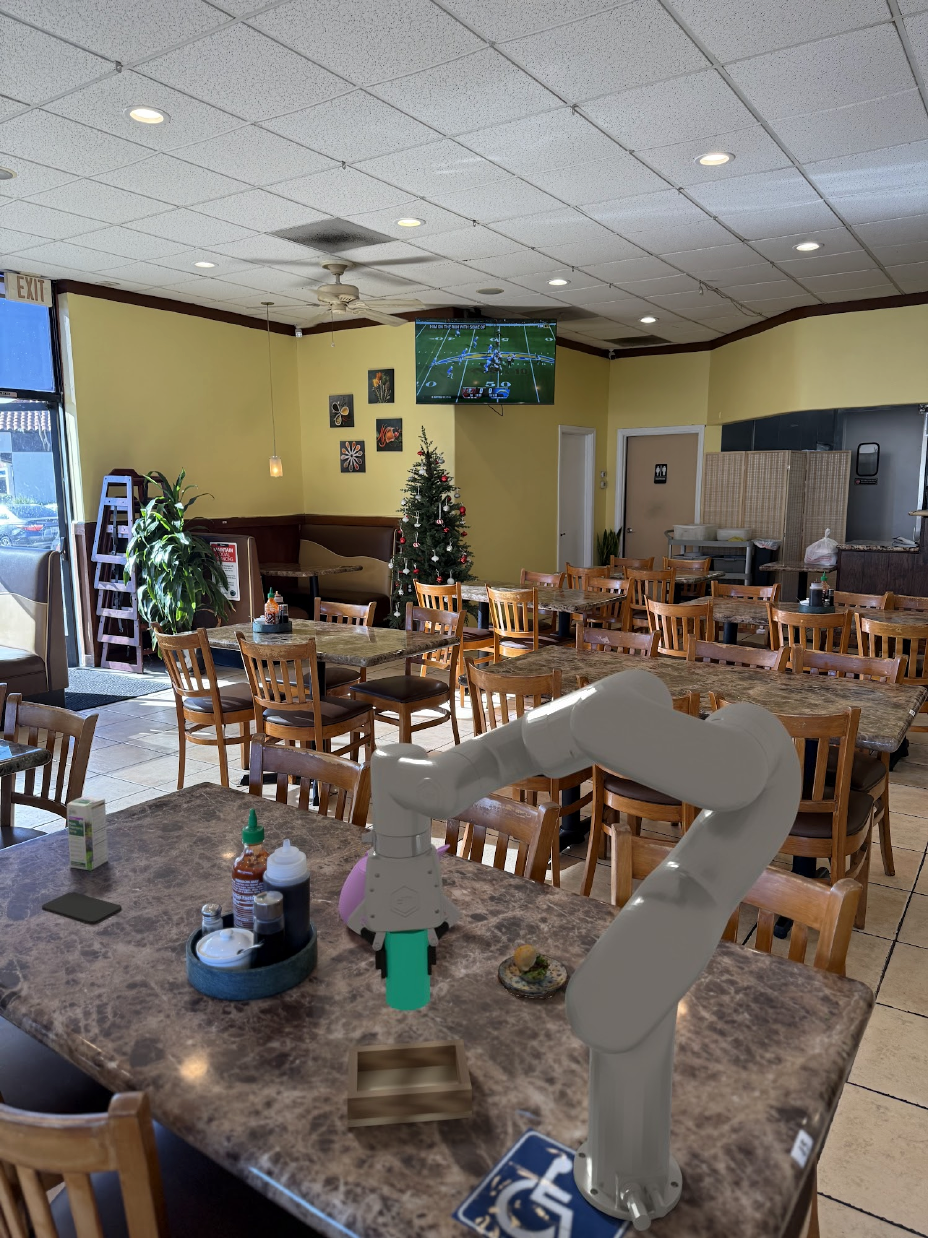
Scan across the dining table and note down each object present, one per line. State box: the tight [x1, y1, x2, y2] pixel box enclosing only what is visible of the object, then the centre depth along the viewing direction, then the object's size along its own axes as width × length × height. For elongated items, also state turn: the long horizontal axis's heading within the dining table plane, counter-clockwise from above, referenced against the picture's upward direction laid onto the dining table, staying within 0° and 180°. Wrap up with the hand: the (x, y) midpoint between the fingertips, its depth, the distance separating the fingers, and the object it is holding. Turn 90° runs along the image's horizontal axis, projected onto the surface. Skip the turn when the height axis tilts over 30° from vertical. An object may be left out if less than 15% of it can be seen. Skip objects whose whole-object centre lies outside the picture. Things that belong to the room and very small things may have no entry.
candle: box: [384, 929, 431, 1012], centre depth 112 cm, size 6×6×12 cm
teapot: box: [338, 844, 451, 925], centre depth 162 cm, size 22×22×14 cm
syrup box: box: [66, 796, 109, 872], centre depth 186 cm, size 6×6×14 cm
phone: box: [41, 891, 122, 925], centre depth 167 cm, size 7×1×15 cm
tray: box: [346, 1038, 473, 1128], centre depth 115 cm, size 16×11×4 cm
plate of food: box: [496, 941, 569, 999], centre depth 142 cm, size 12×12×8 cm
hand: (406, 970), depth 113 cm, fingers closed on candle, 5 cm apart
